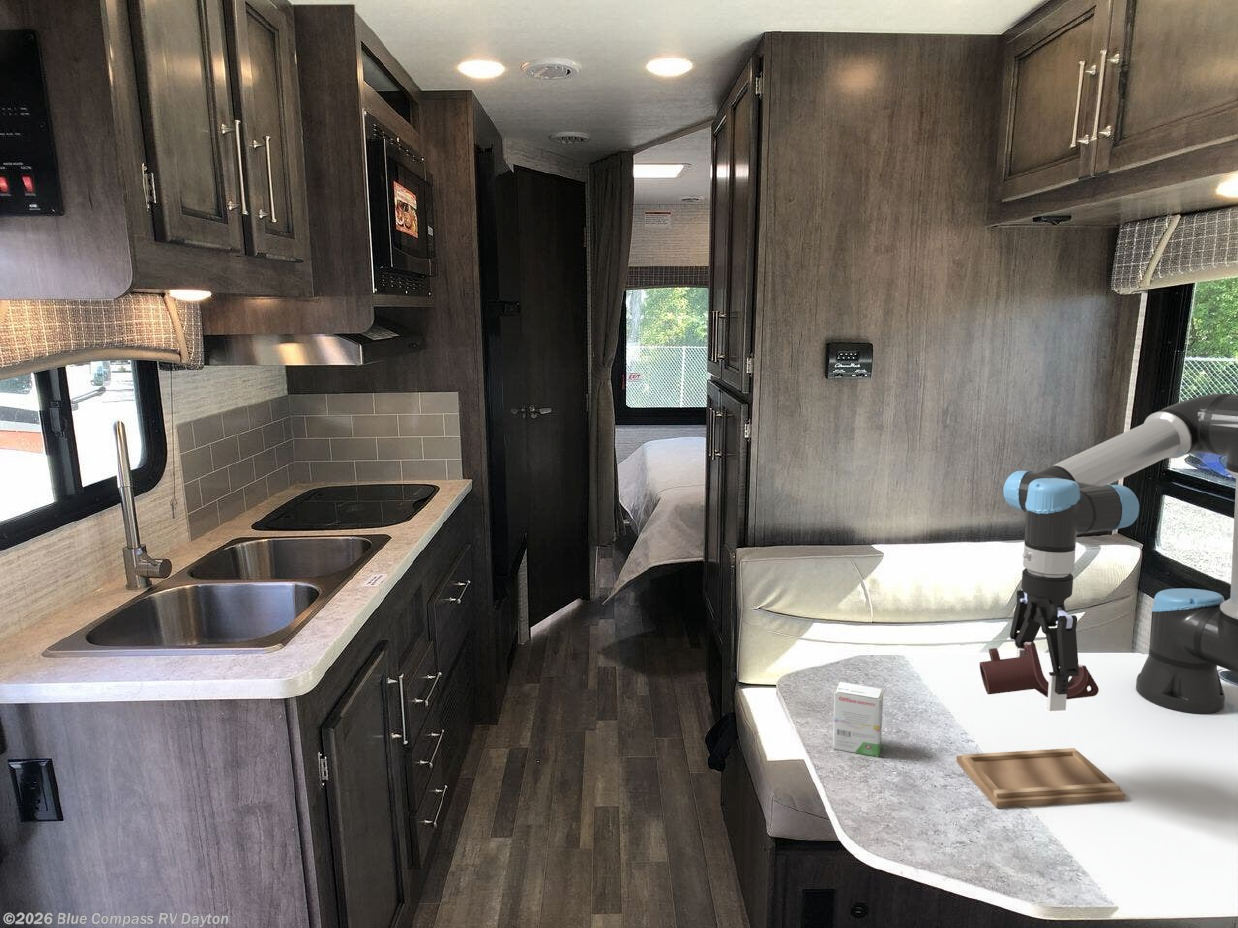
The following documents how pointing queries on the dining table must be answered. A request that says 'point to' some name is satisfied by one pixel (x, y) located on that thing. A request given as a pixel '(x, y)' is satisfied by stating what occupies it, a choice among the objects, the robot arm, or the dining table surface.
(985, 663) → the bracket
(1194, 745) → the dining table surface
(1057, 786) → the side panel
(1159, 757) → the dining table surface
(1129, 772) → the dining table surface
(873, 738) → the ink box
